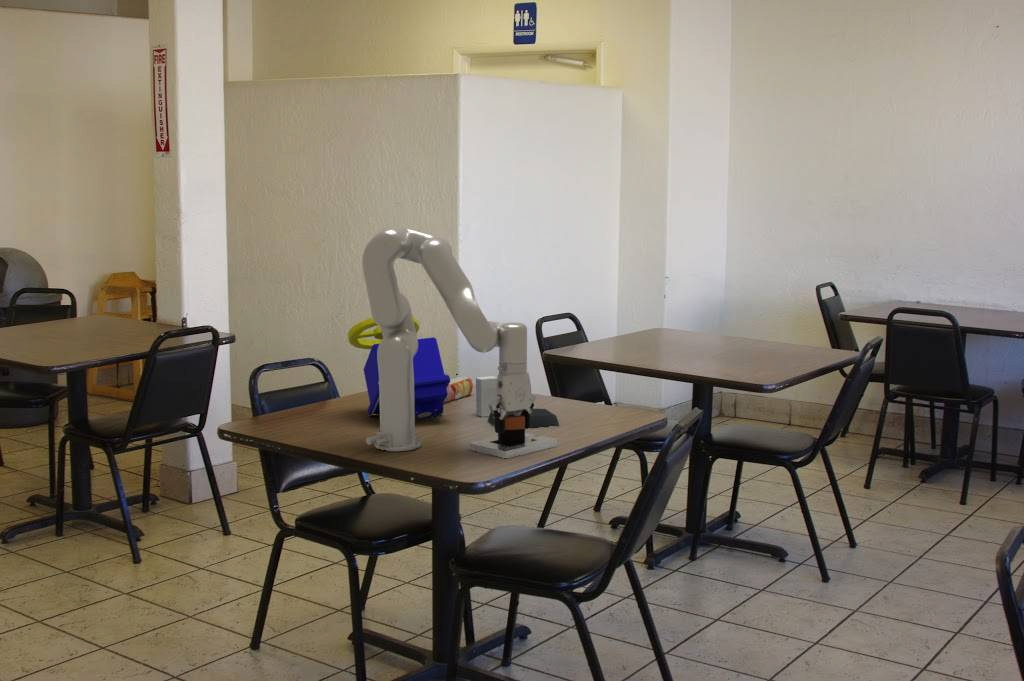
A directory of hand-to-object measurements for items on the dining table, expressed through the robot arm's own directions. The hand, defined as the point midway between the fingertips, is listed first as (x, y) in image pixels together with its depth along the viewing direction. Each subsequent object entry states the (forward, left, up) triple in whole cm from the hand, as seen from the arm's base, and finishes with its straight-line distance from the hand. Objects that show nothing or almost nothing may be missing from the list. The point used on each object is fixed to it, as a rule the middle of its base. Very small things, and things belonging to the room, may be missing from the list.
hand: (512, 430), depth 303 cm
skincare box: (+26, +37, -5) cm, 45 cm away
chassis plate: (0, 0, -5) cm, 5 cm away
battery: (0, 0, -5) cm, 5 cm away
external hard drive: (+25, +20, -6) cm, 32 cm away
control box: (+4, +54, -5) cm, 54 cm away
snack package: (+35, +64, -6) cm, 73 cm away
